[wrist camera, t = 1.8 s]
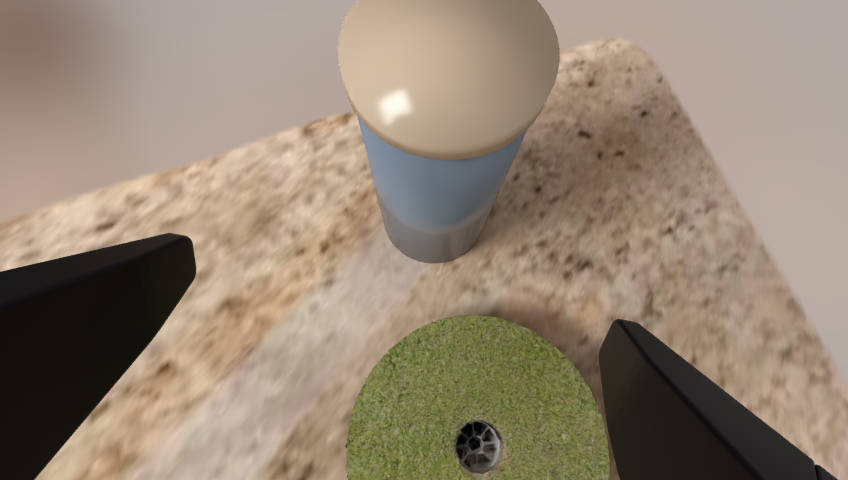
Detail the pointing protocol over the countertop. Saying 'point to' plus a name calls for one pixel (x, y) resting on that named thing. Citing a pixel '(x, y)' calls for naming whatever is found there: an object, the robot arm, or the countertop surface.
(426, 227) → the canister
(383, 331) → the countertop surface
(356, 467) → the mat
